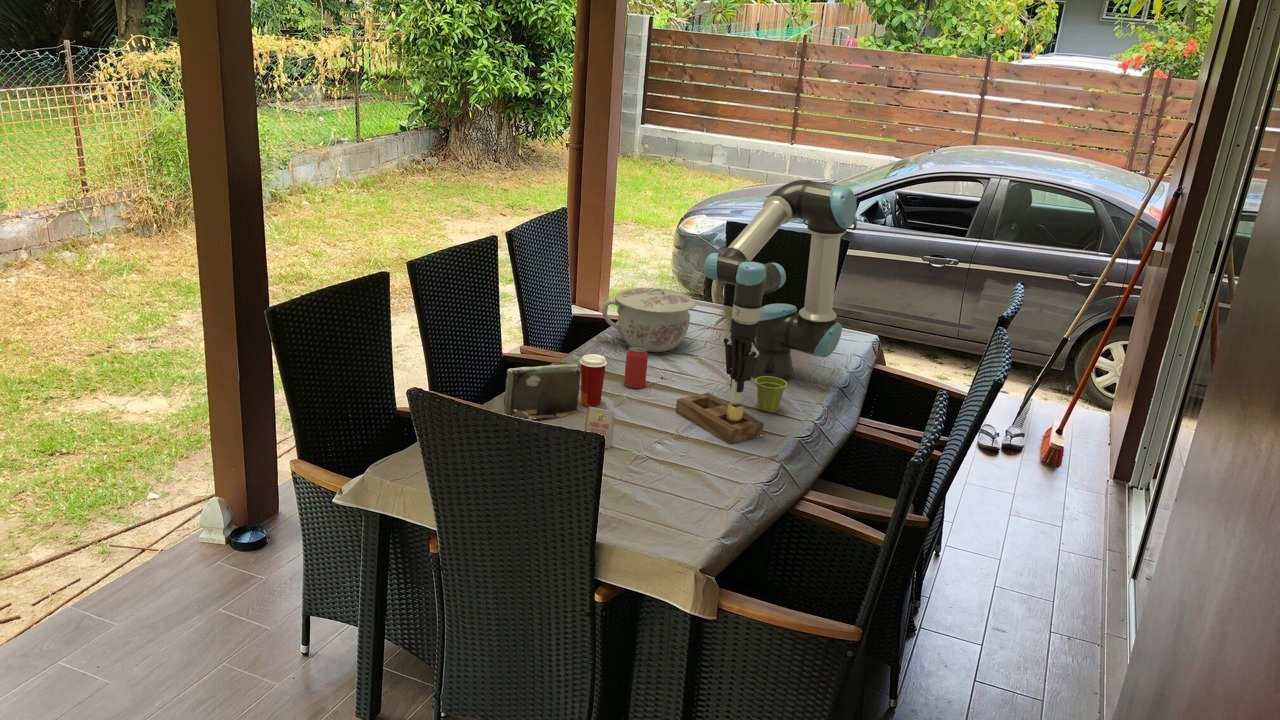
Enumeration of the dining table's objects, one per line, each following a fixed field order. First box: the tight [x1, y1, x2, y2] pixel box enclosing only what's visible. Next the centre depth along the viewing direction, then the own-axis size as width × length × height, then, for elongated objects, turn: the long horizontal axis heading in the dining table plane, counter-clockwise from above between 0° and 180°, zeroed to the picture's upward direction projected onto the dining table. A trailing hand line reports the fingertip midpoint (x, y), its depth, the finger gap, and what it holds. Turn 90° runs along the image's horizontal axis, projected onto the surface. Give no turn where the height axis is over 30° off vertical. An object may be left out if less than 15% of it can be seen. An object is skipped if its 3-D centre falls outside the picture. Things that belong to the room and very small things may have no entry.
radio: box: [502, 363, 581, 421], centre depth 269 cm, size 23×9×15 cm, turn 116°
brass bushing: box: [726, 401, 745, 425], centre depth 270 cm, size 4×4×8 cm
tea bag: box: [584, 406, 615, 450], centre depth 255 cm, size 4×7×10 cm, turn 74°
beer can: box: [623, 346, 649, 390], centre depth 296 cm, size 7×7×12 cm
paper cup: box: [579, 353, 608, 408], centre depth 280 cm, size 8×8×14 cm
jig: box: [675, 392, 765, 445], centre depth 274 cm, size 12×24×4 cm, turn 36°
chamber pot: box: [601, 287, 697, 353], centre depth 330 cm, size 28×28×21 cm
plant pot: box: [754, 376, 788, 413], centre depth 287 cm, size 9×9×9 cm
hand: (735, 401), depth 267 cm, fingers closed
